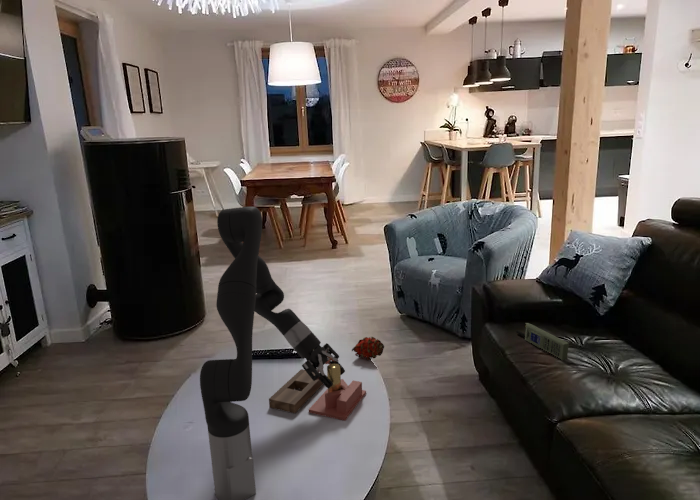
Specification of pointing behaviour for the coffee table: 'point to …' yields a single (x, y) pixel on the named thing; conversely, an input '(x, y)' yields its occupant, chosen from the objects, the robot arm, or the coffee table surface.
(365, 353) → the dragon fruit
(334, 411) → the V-block
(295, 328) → the robot arm
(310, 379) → the brown flat block
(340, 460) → the coffee table surface
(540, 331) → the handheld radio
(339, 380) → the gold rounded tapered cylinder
